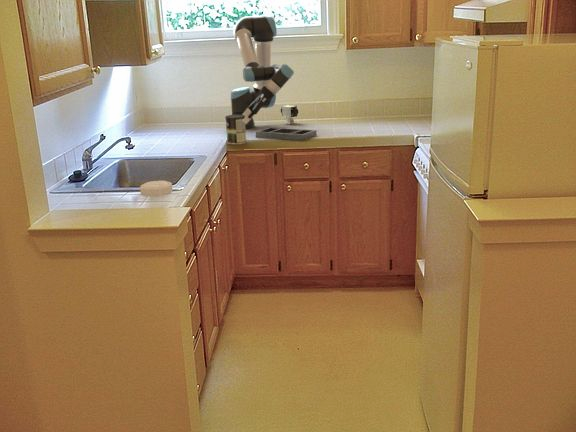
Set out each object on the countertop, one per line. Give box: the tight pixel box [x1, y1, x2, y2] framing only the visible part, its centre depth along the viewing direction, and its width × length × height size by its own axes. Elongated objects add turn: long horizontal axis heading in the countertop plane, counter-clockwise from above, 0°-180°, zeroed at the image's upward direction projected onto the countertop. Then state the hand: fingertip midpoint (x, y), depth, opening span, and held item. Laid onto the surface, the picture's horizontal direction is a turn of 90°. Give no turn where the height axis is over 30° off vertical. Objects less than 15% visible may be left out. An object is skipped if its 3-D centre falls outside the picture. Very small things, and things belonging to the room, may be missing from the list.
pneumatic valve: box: [280, 103, 299, 125], centre depth 373 cm, size 6×12×12 cm, turn 41°
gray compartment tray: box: [255, 126, 318, 141], centre depth 334 cm, size 30×15×3 cm, turn 59°
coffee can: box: [225, 114, 247, 145], centre depth 321 cm, size 10×10×14 cm
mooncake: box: [139, 179, 173, 197], centre depth 232 cm, size 12×12×4 cm
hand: (242, 120), depth 320 cm, fingers open, 13 cm apart
